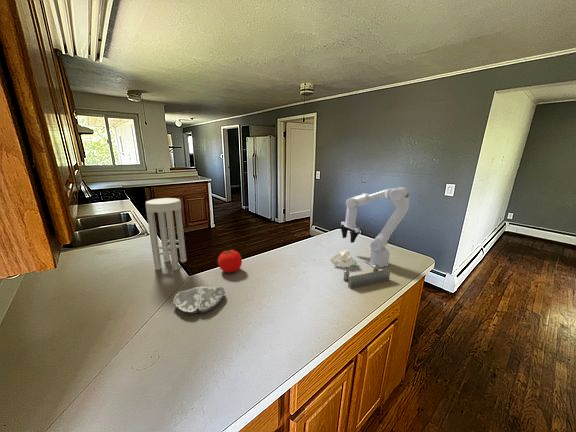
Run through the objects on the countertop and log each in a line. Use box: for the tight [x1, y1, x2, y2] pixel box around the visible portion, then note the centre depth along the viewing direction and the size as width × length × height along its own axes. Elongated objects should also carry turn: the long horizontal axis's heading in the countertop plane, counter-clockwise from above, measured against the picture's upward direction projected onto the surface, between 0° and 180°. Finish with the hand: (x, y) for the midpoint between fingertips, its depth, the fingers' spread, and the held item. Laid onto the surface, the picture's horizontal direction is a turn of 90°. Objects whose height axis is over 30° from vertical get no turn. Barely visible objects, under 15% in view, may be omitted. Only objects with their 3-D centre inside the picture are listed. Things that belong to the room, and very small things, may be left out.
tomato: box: [217, 248, 243, 273], centre depth 121 cm, size 12×12×11 cm
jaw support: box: [329, 248, 358, 269], centre depth 130 cm, size 12×9×10 cm
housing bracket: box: [343, 264, 391, 290], centre depth 115 cm, size 22×8×5 cm, turn 110°
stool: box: [145, 197, 187, 271], centre depth 123 cm, size 16×16×35 cm
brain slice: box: [172, 286, 226, 314], centre depth 96 cm, size 20×17×3 cm
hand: (348, 240), depth 141 cm, fingers open, 7 cm apart
